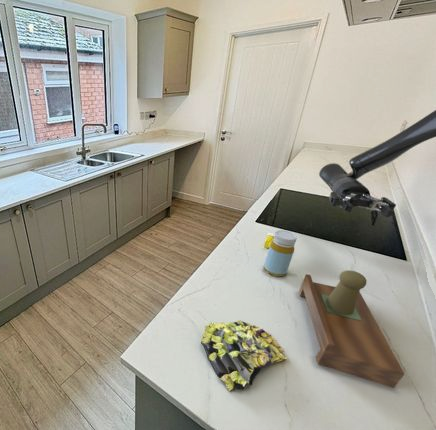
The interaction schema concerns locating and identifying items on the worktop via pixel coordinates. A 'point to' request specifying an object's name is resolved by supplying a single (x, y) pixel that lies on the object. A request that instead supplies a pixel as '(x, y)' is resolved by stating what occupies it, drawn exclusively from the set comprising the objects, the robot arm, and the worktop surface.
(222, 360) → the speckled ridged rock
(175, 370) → the worktop surface
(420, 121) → the robot arm
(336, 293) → the olive knobbed peg
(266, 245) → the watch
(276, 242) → the bottle
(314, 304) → the shelf
